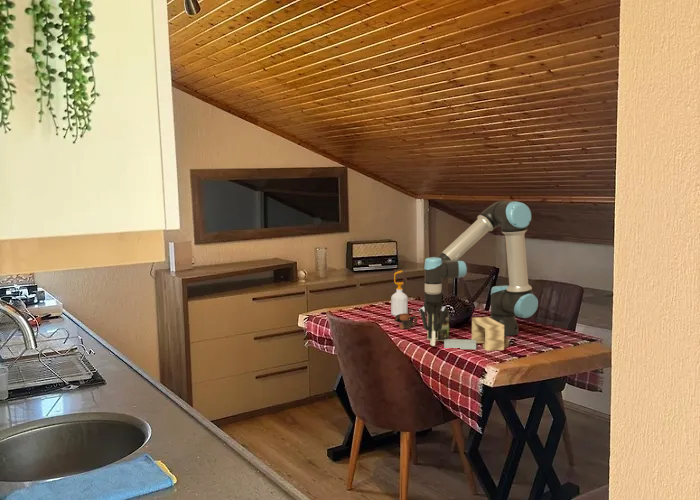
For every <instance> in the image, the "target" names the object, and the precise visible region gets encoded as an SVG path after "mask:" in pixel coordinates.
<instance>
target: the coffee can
mask: <svg viewBox="0 0 700 500" xmlns="http://www.w3.org/2000/svg"><path fill="white" fill-rule="evenodd" d="M426 313H427V318H426V321H427V325H428V312H427V311H426ZM440 313H441V309H440V311H439V312H438V322H439V318H440ZM433 322H434V315H433V316H432V330H434V329H433ZM426 332H427V335H426V336H427V337H426V340H428V341H430V338H429V337H428V330H426ZM444 339H450V309H449V308H447V311H446V313H445V316H444V320H443V324H442V328H441V329H439V330H438V331H437V338H435V342H436V341H442V342H444Z"/></svg>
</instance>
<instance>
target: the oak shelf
mask: <svg viewBox="0 0 700 500" xmlns="http://www.w3.org/2000/svg"><path fill="white" fill-rule="evenodd" d="M471 340H476V344H482V349H483V350H484V351H487V352H492V351H504V350H505V349H506V348H509V346H510V345H509V341H510V339H509V337H508V336H504V325H503V324H501V323H499V322H497V321H495V320H493V319H491V318H490V317H489V316H482V317H481V316H480V317H471Z"/></svg>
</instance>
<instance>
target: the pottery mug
mask: <svg viewBox="0 0 700 500" xmlns="http://www.w3.org/2000/svg"><path fill="white" fill-rule="evenodd" d="M418 320H419V319H418V317H417V316H415V315H413V316H412V315H411V316H410V313H408V314H407V313H403V314H399V315H396V316H395V318H394V323H400V324H399V330H403V329H404V330H405V329H410V330H411V328H412V327H414V325H416V324H417V323H418Z"/></svg>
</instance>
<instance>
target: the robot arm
mask: <svg viewBox="0 0 700 500" xmlns="http://www.w3.org/2000/svg"><path fill="white" fill-rule="evenodd" d="M530 222H532V211H531V209H530V208H529V206H528V205H527V204H525V203H523V202H520V201H516V200H515V201H513V200H510V201H509V200H508V201H507V200H499V201H496V202H494V203H493V204H490V205H489V206H488V207H486V209H484V210H483V211H482V212H480V213H479V215H477V219H476V220H475V221H474V222H473V223H472V224H471V225H470V226H469V227H468V228H467V229H465V231H463V232H462V233H461V234H459V236H458V237H457V238H456V239H455V240H453V242H451V243H450V244H449V245H448V246H447V247H446V248H445V249H444V250H443V251H442V252H441V253H439V254H438V255H437V256H432V257H431V256H430V257H427V258H425V260H424V266H423V267H424V297H423V298H424V299H423V300H424V302H423V306H422V307H420V308H418V312H419V314H420V317H421V321H422V325H423V328H424V330H426V331H427V330H428V337H429V338H430V340H429V342H430V346H432V347H435V346H436V341H435V338H437V331H438V330H439V329H441V328H442V324H443V320H444V316H445V313H446V311H447V309H448V308H447V307H446V306H444V305H443V303H442V302H443V301H442V298H443V297H442V289H443V287H442V286H443V285H442V284H443V282H442V280H443V279H459V278H464V277H465V276H466V275H467V272H468V267H467V264H466V262H465V261H463V260H459V259H460V258H461V257H462V256H463V255H465V254H466V253H467V251H468V250H470V249H471V248H472V247H473V246H474V245H475V244H476V243H477V242H479V241H480V240H481V239H482V238H483V237H484V236H485V235H486V234H487V233H488V232H492V231H494V230H495V229H496V228H498V227H500V229H501V233H502V234H503V235H504V237H505V249H506V259H507V262H506V263H507V272H508V284H509V285H495V286H492V287H491V289H490V317H489V318H491V319H493V320H495V321H497V322H499V323H501V324H503V325H504V336H505V337H509V336H510V337H511V336H515V335H518V334H519V325H518V322H517V319H516V317H517V318H523V319H527V318H530V317H532V316H533V315H534V314H535V313H536V312H537V310H538V309H539V308H538V307H539V300H538V298H537V297H536V295H535V294H533V288H532V286H531V285H530V284H529V276H528V264H527V251H526V239H525V234H526V233H527V231H528V226H529V225H530ZM440 309H441V313H440V318H439V322H438V312H439V311H440ZM427 312H428V325H427V318H426V313H427ZM433 315H434V322H433V329H434V330H432V316H433Z"/></svg>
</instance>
